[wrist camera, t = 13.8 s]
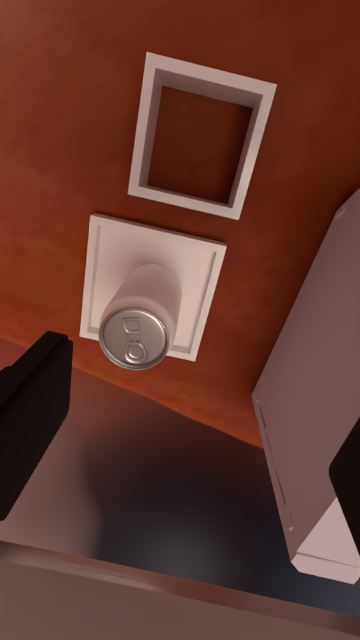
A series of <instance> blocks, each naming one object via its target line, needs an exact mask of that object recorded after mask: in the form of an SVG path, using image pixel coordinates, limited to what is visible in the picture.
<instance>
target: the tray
mask: <svg viewBox="0 0 360 640" xmlns="http://www.w3.org/2000/svg"><path fill="white" fill-rule="evenodd" d="M226 247H227V246H226V243H224V242H219V241H215V240H211V239H206V238H202V237H198V236H193V235H189V234H185V233H180V232H176V231H172V230H167V229H163V228H159V227H154V226H150V225H146V224H141V223H137V222H133V221H128V220H124V219H120V218H115V217H111V216H107V215H102V214H98V213H95V214H92V215H90V225H89V237H88V248H87V259H86V271H85V282H84V293H83V304H82V316H81V327H80V337H85V338H89V339H94V340H99V324H100V319H101V316H102V314H103V312H104V310H105V308H106V307H107V305H108V304H109V302H110V301H111V300H112V298H113V297H114V295H115V294H116V293H117V291H118V290H119V288H120V287H121V286H122V284H123V283H124V282H125V280H126V279H127V278H128V276H129V275H130V274H131V273H132V272H133V271H134V270H135V269H137V268H138V267H140V266H143V265H146V264H158V265H162V266H164V267H166V268H168V269H170V270H171V271H172V272H173V273H174V274H175V275H176V276H177V278H178V280H179V282H180V284H181V288H182V298H181V305H180V312H179V318H178V325H177V331H176V336H175V340H174V343H173V345H172V347H171V349H170V351H169V352H168V353H167V354H166V355H168V356H173V357H177V358H182V359H187V360H191V361H195V359H196V356H197V352H198V348H199V345H200V341H201V338H202V334H203V330H204V327H205V323H206V320H207V316H208V312H209V309H210V305H211V302H212V298H213V294H214V291H215V287H216V283H217V280H218V276H219V273H220V269H221V265H222V262H223V258H224V255H225V251H226Z"/></svg>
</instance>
